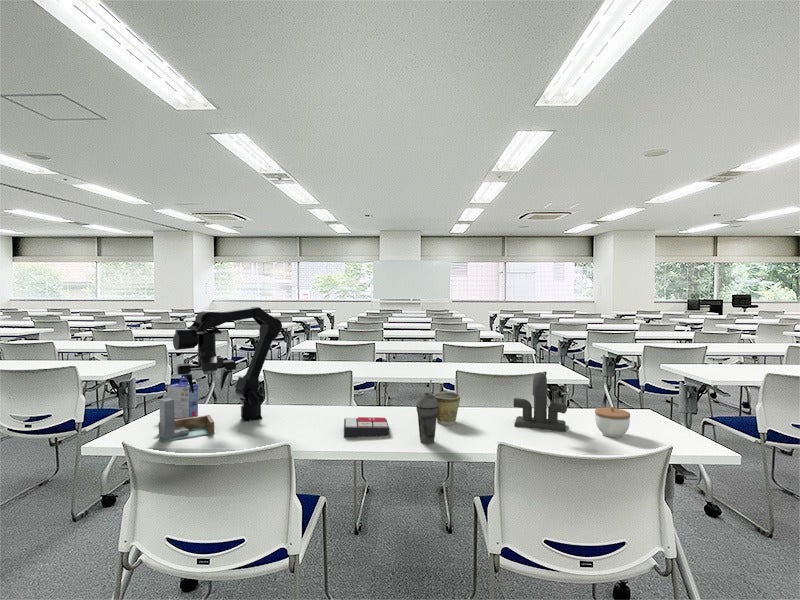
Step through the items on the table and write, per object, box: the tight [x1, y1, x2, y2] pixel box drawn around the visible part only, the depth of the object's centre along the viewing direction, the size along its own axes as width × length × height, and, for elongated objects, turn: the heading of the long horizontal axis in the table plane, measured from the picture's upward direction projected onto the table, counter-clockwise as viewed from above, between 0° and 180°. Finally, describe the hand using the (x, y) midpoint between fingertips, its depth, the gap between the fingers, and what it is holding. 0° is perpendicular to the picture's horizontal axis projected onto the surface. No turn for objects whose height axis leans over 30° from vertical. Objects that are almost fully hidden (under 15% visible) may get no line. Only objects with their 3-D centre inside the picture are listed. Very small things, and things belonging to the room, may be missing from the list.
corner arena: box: [158, 414, 215, 443], centre depth 148 cm, size 16×10×4 cm, turn 122°
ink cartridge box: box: [166, 377, 199, 419], centre depth 168 cm, size 10×6×14 cm, turn 78°
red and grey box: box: [343, 416, 390, 439], centre depth 150 cm, size 11×4×15 cm
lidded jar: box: [594, 406, 631, 439], centre depth 147 cm, size 11×11×9 cm
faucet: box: [513, 372, 568, 433], centre depth 153 cm, size 18×16×20 cm
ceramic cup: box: [432, 391, 461, 426], centre depth 162 cm, size 13×10×10 cm
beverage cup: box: [415, 379, 439, 445], centre depth 140 cm, size 7×7×20 cm
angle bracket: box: [159, 397, 189, 440], centre depth 144 cm, size 8×4×12 cm, turn 139°
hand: (207, 391), depth 154 cm, fingers open, 9 cm apart
